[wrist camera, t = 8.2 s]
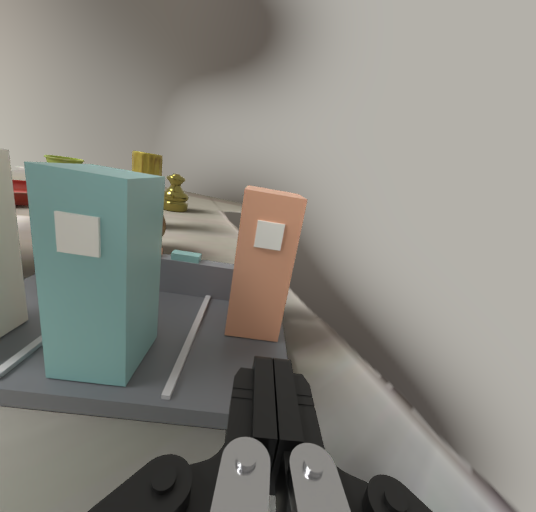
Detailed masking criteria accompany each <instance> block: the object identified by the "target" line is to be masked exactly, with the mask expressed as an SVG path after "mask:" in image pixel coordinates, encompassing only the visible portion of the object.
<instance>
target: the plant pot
mask: <svg viewBox="0 0 536 512" xmlns="http://www.w3.org/2000/svg"><path fill="white" fill-rule="evenodd" d="M44 157H46V160H47V162H48V163H72V164H82V163H83V162H84V160H81V159H76V158H69V157H62V156H53V155H44Z"/></svg>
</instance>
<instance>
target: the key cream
mask: <svg viewBox="0 0 536 512" xmlns="http://www.w3.org/2000/svg"><path fill="white" fill-rule="evenodd" d="M27 320H28V312H27V304H26V295H25V286H24V278H23V269H22V260H21V252H20V243H19V234H18V226H17V217H16V208H15V200H14V191H13V182H12V174H11V165H10V156H9V150H6V149H0V338H1V337H2V336H4V335H5V334H7V333H8V332H10V331H12V330H13V329H15V328H16V327H18V326H19V325H21V324H23V323H24V322H26V321H27Z"/></svg>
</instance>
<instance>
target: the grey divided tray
mask: <svg viewBox="0 0 536 512" xmlns="http://www.w3.org/2000/svg"><path fill="white" fill-rule="evenodd" d="M201 256H202V254H201V253H194V252H187V251H181V250H174V251H173V252H171V255H168V254H163V248H161V267H160V287H159V306H158V326H157V337H156V339H155V341H154V342H153V344H152V345H151V347H150V349H149V350H148V352H147V353H146V355H145V356H144V358H143V360H142V361H141V363H140V364H139V366H138V367H137V369H136V371H135V372H134V374H133V375H132V377H131V379H130V380H129V382H128V383H127V385H126V386H125V387H123V386H114V385H105V384H96V383H88V382H79V381H70V380H61V379H53V378H46V374H45V364H44V354H43V344H42V334H41V324H40V314H39V304H38V294H37V284H36V274H34V275H32V276H30V277H28V278H25V279H24V286H25V295H26V304H27V312H28V320H27V321H26V322H24V323H23V324H21V325H19V326H18V327H16V328H15V329H13V330H12V331H10V332H8V333H7V334H5V335H4V336H2V337H1V338H0V406H7V407H17V408H26V409H36V410H45V411H55V412H64V413H74V414H83V415H93V416H102V417H112V418H121V419H131V420H140V421H149V422H159V423H168V424H178V425H187V426H197V427H206V428H216V429H225V430H227V423H228V415H229V407H230V401H231V394H232V388H233V381H234V376H235V374H236V373H237V372H238V370H239V369H240V368H241V367H242V368H251V369H252V367H253V361H254V356H263V357H271V358H272V359H273V358H280V359H288V358H287V351H286V344H285V336H284V329H283V322H282V323H281V328H280V333H279V337H278V342H273V341H265V340H258V339H250V338H242V337H235V336H227V335H225V327H226V320H227V313H228V306H229V299H230V291H231V284H232V277H233V270H234V264H228V263H221V262H215V261H208V260H201Z"/></svg>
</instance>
